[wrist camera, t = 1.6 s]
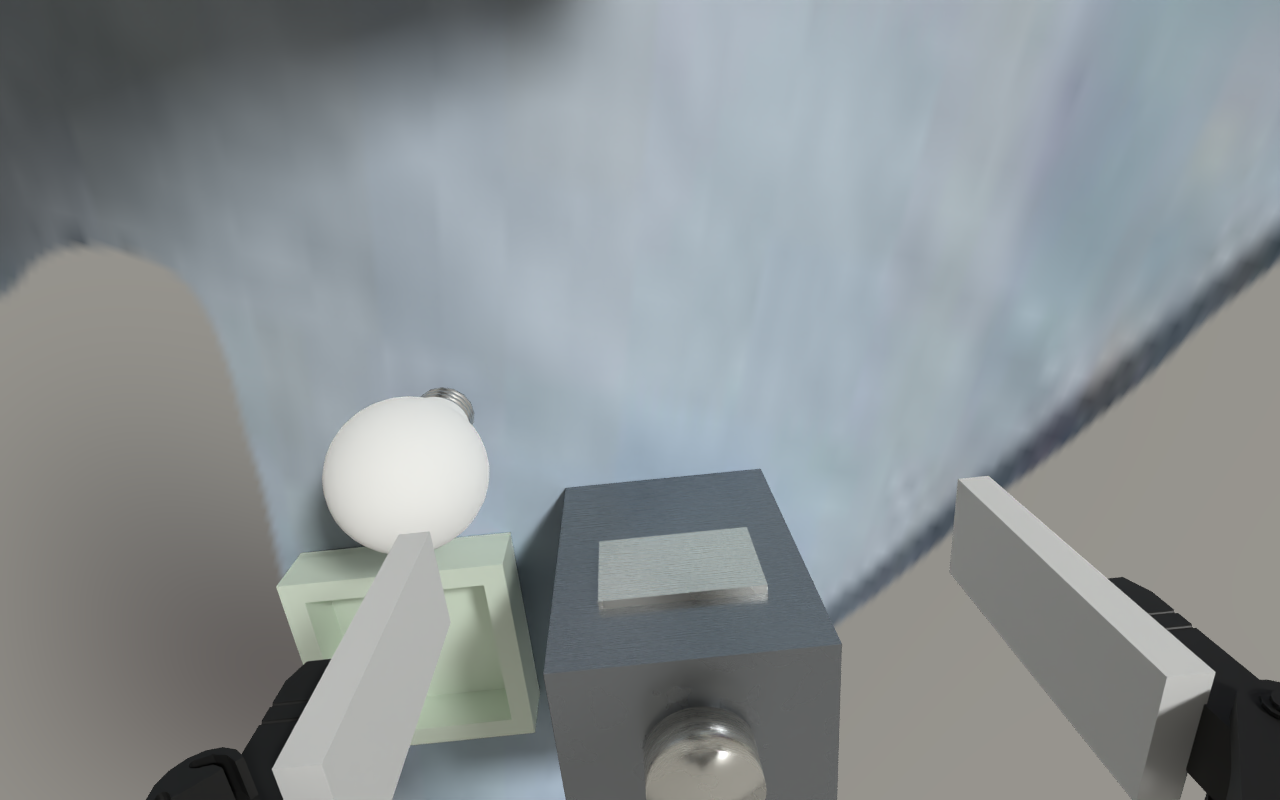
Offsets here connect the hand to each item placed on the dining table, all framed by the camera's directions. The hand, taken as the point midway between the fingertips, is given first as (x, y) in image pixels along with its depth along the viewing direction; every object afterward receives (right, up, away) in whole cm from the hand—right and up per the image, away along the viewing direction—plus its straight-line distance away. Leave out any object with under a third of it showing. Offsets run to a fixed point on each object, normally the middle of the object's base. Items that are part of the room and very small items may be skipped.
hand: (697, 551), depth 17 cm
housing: (0, -5, +23) cm, 23 cm away
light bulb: (-12, +3, +19) cm, 22 cm away
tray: (-14, -10, +24) cm, 30 cm away
